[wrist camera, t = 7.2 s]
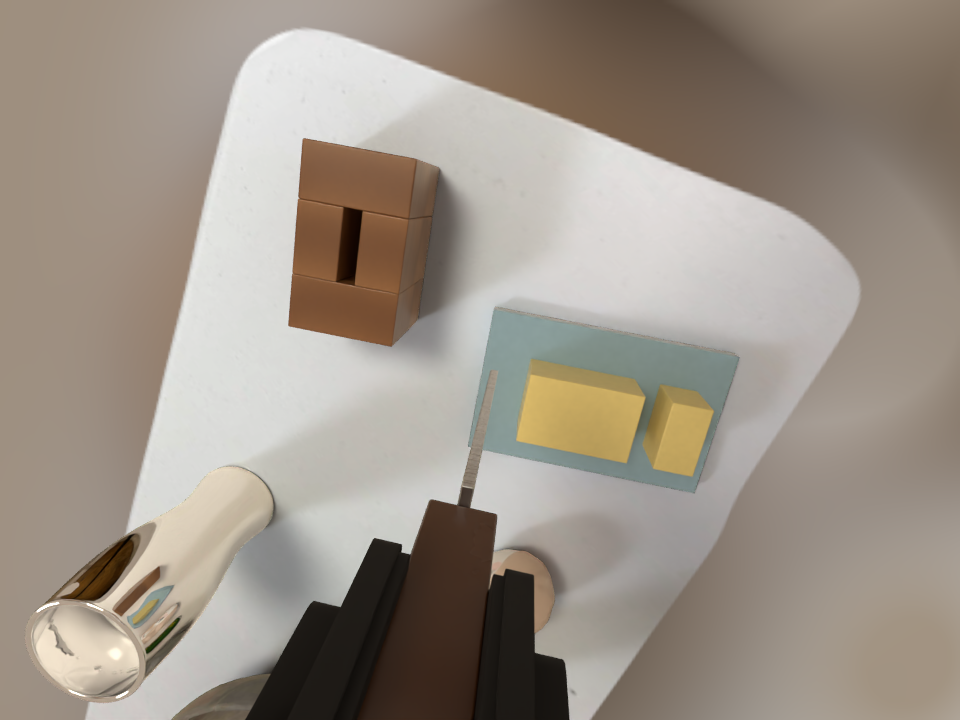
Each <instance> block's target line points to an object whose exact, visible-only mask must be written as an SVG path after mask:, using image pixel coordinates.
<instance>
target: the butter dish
mask: <svg viewBox="0 0 960 720" xmlns="http://www.w3.org/2000/svg"><path fill="white" fill-rule="evenodd" d="M739 358H740V357H739V356H737V355H736V354H735V353H731V352H726V351H721V350H715V349H710V348H705V347H700V346H695V345H690V344H685V343H679V342H674V341H669V340H664V339H659V338H654V337H649V336H643V335H638V334H633V333H628V332H623V331H618V330H613V329H607V328H602V327H597V326H592V325H587V324H582V323H577V322H571V321H566V320H561V319H556V318H551V317H546V316H541V315H535V314H530V313H525V312H520V311H515V310H510V309H505V308H499V307H495V308H494V311H493V317H492V322H491V327H490V332H489V338H488V343H487V348H486V354H485V359H484V364H483V370H482V375H481V380H480V385H479V391H478V396H477V401H476V407H475V412H474V417H473V423H472V428H471V433H470V438H469V444H468V447H471V446H472V442H473V438H474V434H475V430H476V426H477V422H478V418H479V414H480V410H481V406H482V402H483V398H484V394H485V390H486V386H487V382H488V378H489V375H490V371H491V370H496V371H498V375H497V380H496V385H495V390H494V395H493V400H492V405H491V409H490V414H489V419H488V424H487V429H486V434H485V439H484V444H483V449H482V450H486V451H491V452H496V453H501V454H506V455H511V456H516V457H520V458H525V459H530V460H535V461H540V462H545V463H550V464H554V465H559V466H564V467H569V468H574V469H579V470H584V471H589V472H593V473H598V474H603V475H608V476H613V477H618V478H623V479H628V480H632V481H637V482H642V483H647V484H652V485H657V486H662V487H666V488H671V489H676V490H681V491H686V492H691V493H695V490H696V487H697V484H698V481H699V478H700V475H701V472H702V469H703V466H704V463H705V460H706V457H707V454H708V451H709V448H710V445H711V442H712V439H713V436H714V433H715V430H716V427H717V424H718V421H719V418H720V415H721V412H722V409H723V406H724V403H725V400H726V397H727V394H728V391H729V388H730V385H731V382H732V379H733V376H734V373H735V370H736V367H737V364H738V361H739ZM531 359H536V360H541V361H546V362H551V363H556V364H561V365H566V366H571V367H576V368H581V369H586V370H591V371H596V372H601V373H606V374H612V375H617V376H622V377H627V378H632V379H635V380H636V382H637V383H638V385H639V387H640V388H641V390H642V392H643V394H644V395H645V397H646V398H645V402H644V405H643V409H642V412H641V416H640V419H639V423H638V426H637V430H636V433H635V437H634V440H633V444H632V447H631V451H630V454H629V458H628V461H627V463H622V462H617V461H612V460H607V459H602V458H597V457H592V456H587V455H583V454H578V453H573V452H568V451H563V450H558V449H553V448H548V447H543V446H538V445H534V444H529V443H524V442H519V441H516V436H517V422H518V415H519V411H520V406H521V401H522V397H523V392H524V387H525V383H526V378H527V374H528V369H529V364H530V360H531ZM661 384H662V385H667V386H672V387H677V388H682V389H687V390H692V391H697V392H698V393H699V394H700V395H701V396H702V398H703V399H704V400H705V401H706V402H707V403H708V404H709V406H710V407H711V408H712V409H713V410H714V413H713V416H712V420H711V423H710V426H709V429H708V432H707V435H706V438H705V441H704V444H703V447H702V450H701V453H700V456H699V459H698V462H697V465H696V468H695V471H694V474H693V477H690V476H686V475H681V474H676V473H671V472H666V471H661V470H656V469H653V467H652V465H651V463H650V461H649V459H648V456H647V454H646V452H645V450H644V447H643V445H642V444H643V441H644V437H645V434H646V431H647V427H648V424H649V420H650V417H651V414H652V410H653V407H654V403H655V400H656V397H657V393H658V390H659V386H660V385H661Z"/></svg>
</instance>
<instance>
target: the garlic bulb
mask: <svg viewBox="0 0 960 720" xmlns="http://www.w3.org/2000/svg"><path fill="white" fill-rule="evenodd" d="M506 568H507V569H511V570H515V571H520V572H524V573H528V574H533V575H534V619H535V633H536V632H538V631H539V630H541V629H542V628H543V627H544V625H545V624H546V623H547V622H548V620H549V618H550V614H551V610H552V607H553V605H554V602H555V596H554V589H553V585H552V580H551V577H550V575H549V573H548V571H547V568H546V566H545V565H544V563H543V562H542V561H540V560H539V559H538V558H536V557H535V556H533V555H532V554H530V553H528V552H526V551H517V550H510V549H506V550H500V551H496V552H494V553H493V560H492V569H491V578H490V585H491V581H492V577H493V574H497V575H501V576H503V575H504V572H505V569H506ZM489 589H490V587H489Z"/></svg>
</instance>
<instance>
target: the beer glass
mask: <svg viewBox="0 0 960 720" xmlns="http://www.w3.org/2000/svg"><path fill="white" fill-rule="evenodd" d="M273 508H274V506H273V499H272V496H271V493H270V491H269V489H268V488H267V486H266V485H265V484H264V482H263V481H262V480H261V479H260V478H259V477H257V476H256V475H255V474H253V473H251V472H250V471H248V470H245V469H243V468H239V467H232V466H226V467H220V468H217V469H215V470H213V471H211V472H209V473H208V474H207V475H206V476H205V477H204V478H203V479H202V480H201V481H200V483H199V484H198V485H197V487H196V488H195V490H194V491H193V492H192V493H191V495H190V496H189V497H188V498H187V499H185V501H183V502H182V503H181V504H179V505H178V506H176V507H174V508H173V509H171V510H169V511H168V512H166V513H164V514H162V515H160V516H158V517H156V518H154V519H153V520H151V521H149V522H147V523H145V524H144V525H142V526H140V527H138V528H136V529H135V530H133V531H132V532H130V533H128V534H127V535H125V536H123V537H122V538H120V539H119V540H117V541H116V542H115V543H113V544H112V545H110V546H109V547H108V548H106V549H105V550H104V551H102V552H101V553H100V554H98V555H97V556H96V557H95V558H93V559H92V560H91V561H90V562H89V563H88V564H86V565H85V566H84V567H83V568H82V569H81V570H80V571H78V572H77V573H76V574H75V575H74V576H73V577H72V578H71V579H70V580H69V581H68V582H67V583H66V584H64V585H63V586H62V588H60V589H59V590H58V591H57V592H56V593H55V594H54V595H53V596H52V597H51V598H50V599H49V600H48V601H47V602H46V603H45V604H43V605H42V606H41V607H39V608H38V609H37V610H36V611H35V612H34V613H33V614H32V616H31V617H30V619H29V621H28V623H27V626H26V631H25V642H26V647H27V650H28V653H29V656H30V658H31V660H32V662H33V663H34V665H35V666H36V668H37V669H38V670H39V672H40V673H41V674H42V675H43V676H44V677H45V678H46V679H47V680H48V681H49V682H50V683H52V684H53V685H54V686H55V687H57V688H59V689H60V690H61V691H63V692H65V693H67V694H69V695H71V696H73V697H76V698H79V699H82V700H85V701H90V702H97V703H109V702H115V701H119V700H122V699H124V698H126V697H128V696H130V695H131V694H133V693H134V692H135V691H136V690H137V689H138V688H139V686H140V685H141V684H142V683H143V681H144V680H145V679H146V678H147V677H148V676H149V675H150V674H151V673H152V672H153V671H154V670H155V669H156V668H157V667H158V666H159V665H160V664H161V663H162V661H163V660H164V659H165V658H166V657H167V656H168V655H169V654H170V653H171V652H172V651H173V650H174V649H175V647H176V646H177V645H178V644H179V643H180V642H181V640H182V639H183V638H184V637H185V636H186V635H187V633H188V632H189V631H190V630H191V628H192V627H193V626H194V624H195V623H196V622H197V620H198V619H199V618H200V616H201V615H202V614H203V612H204V611H205V609H206V607H207V606H208V604H209V602H210V601H211V599H212V598H213V596H214V594H215V592H216V591H217V589H218V587H219V585H220V583H221V581H222V580H223V578H224V576H225V574H226V572H227V570H228V568H229V566H230V564H231V563H232V561H233V559H234V557H235V556H236V554H237V553H238V551H239V550H240V549H241V548H242V547H243V546H244V545H245V544H246V543H247V542H248V541H249V540H251V539H252V538H253V537H255V536H256V535H257V534H259V533H260V532H261V531H262V530H263V529H264V528H265V527H266V526H267V525H268V524H269V522H270V520H271V518H272V515H273Z"/></svg>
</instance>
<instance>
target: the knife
mask: <svg viewBox="0 0 960 720" xmlns="http://www.w3.org/2000/svg"><path fill="white" fill-rule="evenodd" d="M497 375H498V371H496V370H491V371H490V375H489V378H488V382H487V386H486V390H485V394H484V398H483V402H482V406H481V410H480V414H479V418H478V422H477V426H476V430H475V434H474V438H473V442H472V446H471V450H470V454H469V458H468V462H467V466H466V469H465V473H464V477H463V481H462V485H461V490H460V495H459V499H458V504H457V505H454V504H450V503H445V502H441V501H436V500H430V501H429V503H428V505H427V508H426V511H425V514H424V517H423V520H422V523H421V526H420V528H419V531H418V534H417V537H416V540H415V543H414V546H413V549H412V551H411V554H410V555H411V556H410V563H409V568H408V572H407V575H406V578H405V581H404V584H403V587H402V589H401V592H400V595H399V598H398V601H397V604H396V607H395V610H394V613H393V616H392V619H391V622H390V625H389V628H388V631H387V634H386V636H385V639H384V642H383V645H382V648H381V651H380V654H379V657H378V660H377V663H376V666H375V669H374V672H373V675H372V678H371V681H370V683H369V686H368V689H367V692H366V695H365V698H364V701H363V704H362V707H361V710H360V713H359V716H358V719H357V720H474V717H475V709H476V700H477V691H478V682H479V674H480V665H481V656H482V647H483V639H484V630H485V621H486V612H487V604H488V595H489V587H490V578H491V569H492V560H493V552H494V543H495V534H496V525H497V515H496V514H494V513H489V512H485V511H481V510H476V509H472V508H470V506H471V501H472V497H473V492H474V488H475V483H476V478H477V473H478V468H479V463H480V458H481V453H482V449H483V444H484V439H485V434H486V429H487V424H488V419H489V414H490V409H491V405H492V400H493V395H494V390H495V385H496V380H497Z"/></svg>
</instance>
